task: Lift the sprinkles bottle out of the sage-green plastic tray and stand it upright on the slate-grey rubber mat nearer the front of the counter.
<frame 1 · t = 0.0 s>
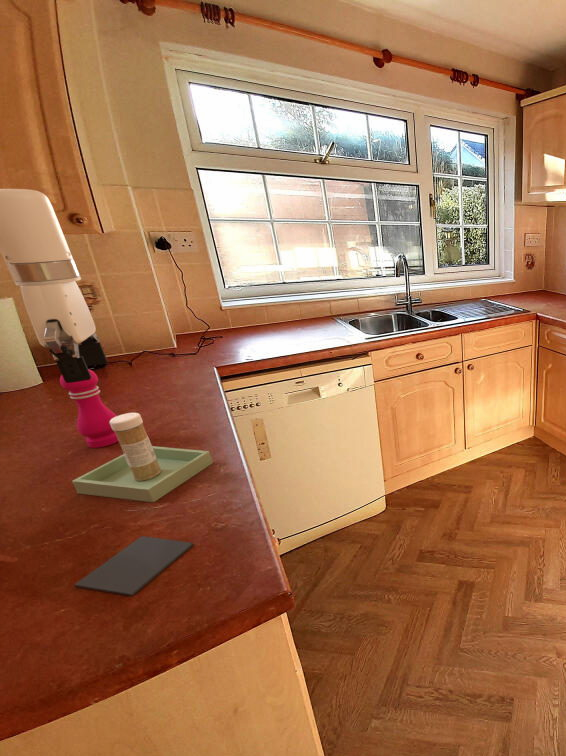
hand: (88, 372, 74), 24 cm above the counter, tool pointing down, fingers open, 9 cm apart
tray: (149, 477, 86), on the counter
mat: (137, 564, 65), on the counter
pepper mill: (106, 442, 101), on the counter
sprinkles bottle: (148, 476, 86), resting on tray
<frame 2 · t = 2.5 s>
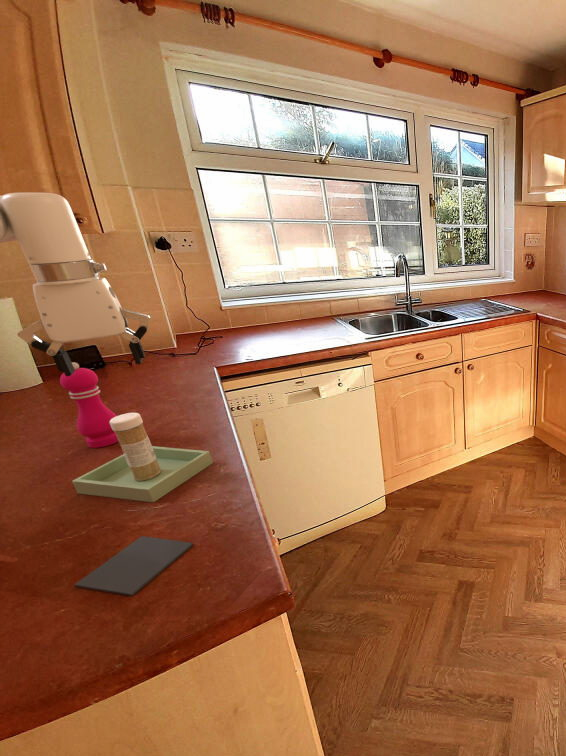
hand: (106, 368, 78), 24 cm above the counter, tool pointing down, fingers open, 9 cm apart
nothing on the counter moved.
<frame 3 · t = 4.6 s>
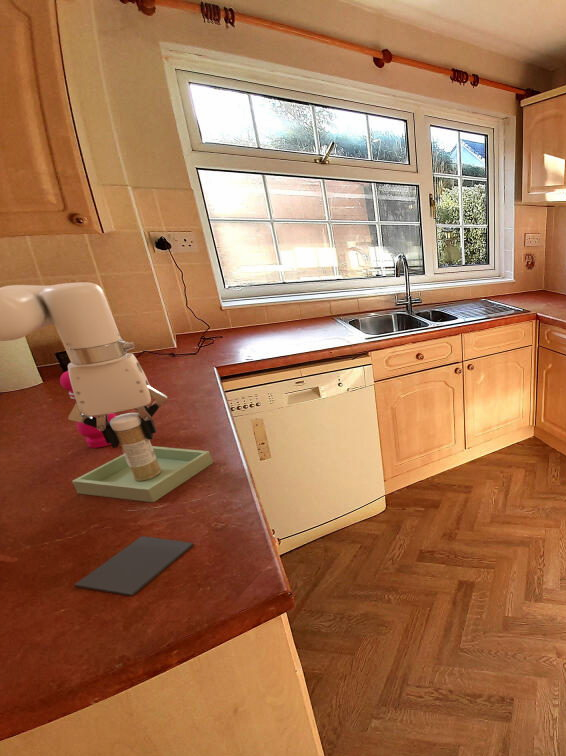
hand: (133, 439, 83), 9 cm above the counter, tool pointing down, fingers closed on sprinkles bottle, 4 cm apart
sprinkles bottle: (148, 476, 86), resting on tray, touching gripper
everything else where it was.
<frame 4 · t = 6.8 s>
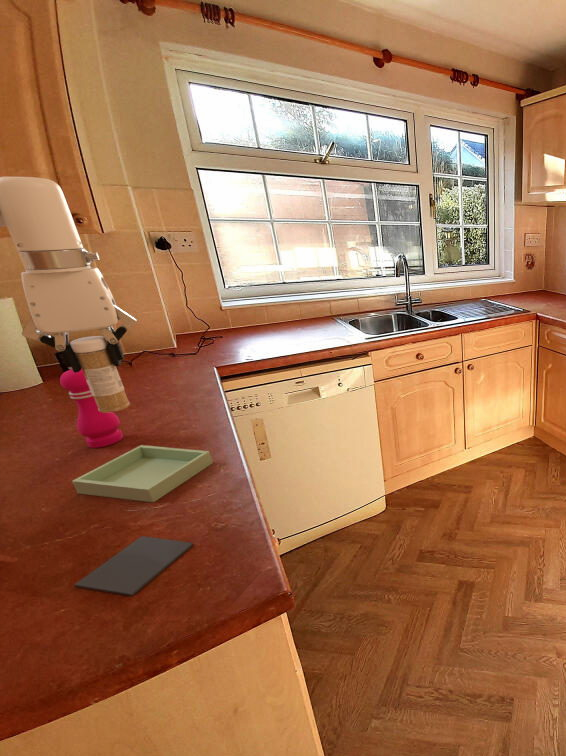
hand: (98, 366, 75), 25 cm above the counter, tool pointing down, fingers closed on sprinkles bottle, 4 cm apart
sprinkles bottle: (115, 409, 78), point 16 cm above the counter, touching gripper
everything else where it was.
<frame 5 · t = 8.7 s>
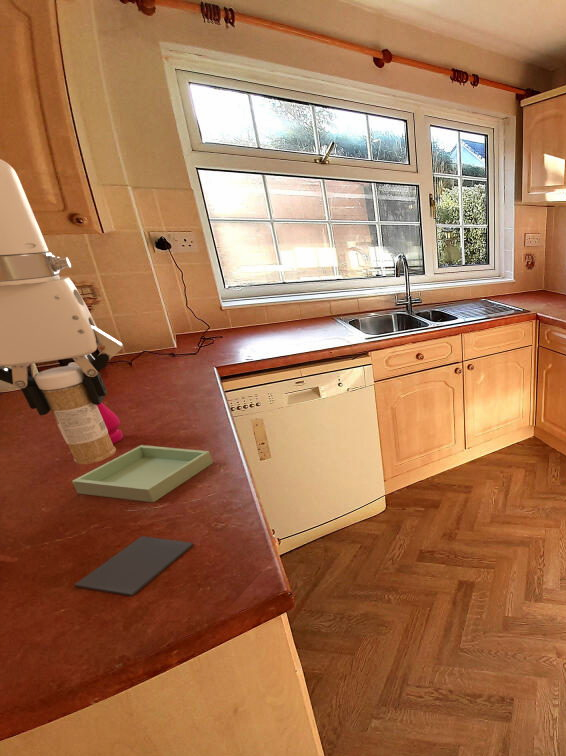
hand: (73, 405, 58), 26 cm above the counter, tool pointing down, fingers closed on sprinkles bottle, 4 cm apart
sprinkles bottle: (97, 458, 61), point 17 cm above the counter, touching gripper
everything else where it was.
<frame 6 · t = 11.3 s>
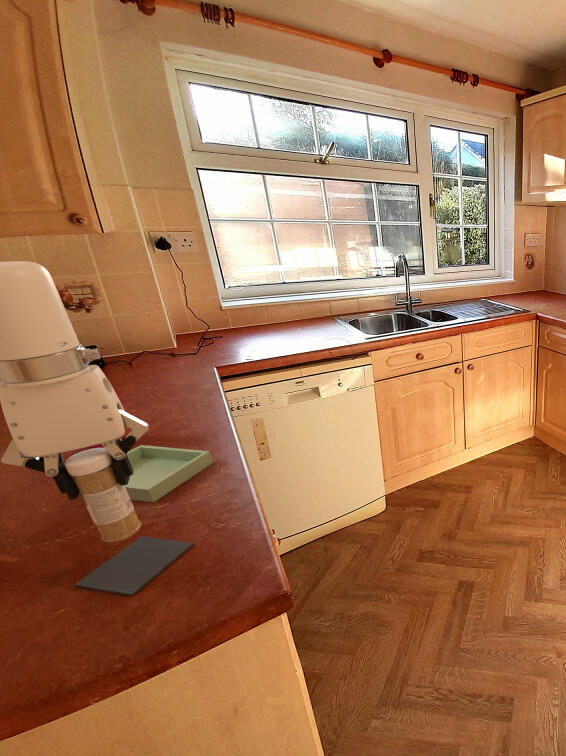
hand: (101, 486, 59), 14 cm above the counter, tool pointing down, fingers closed on sprinkles bottle, 4 cm apart
sprinkles bottle: (123, 534, 62), point 6 cm above the counter, touching gripper
everything else where it was.
when the fingers open (9 cm above the counter, at t = 13.0 s): sprinkles bottle stays where it is, resting on mat.
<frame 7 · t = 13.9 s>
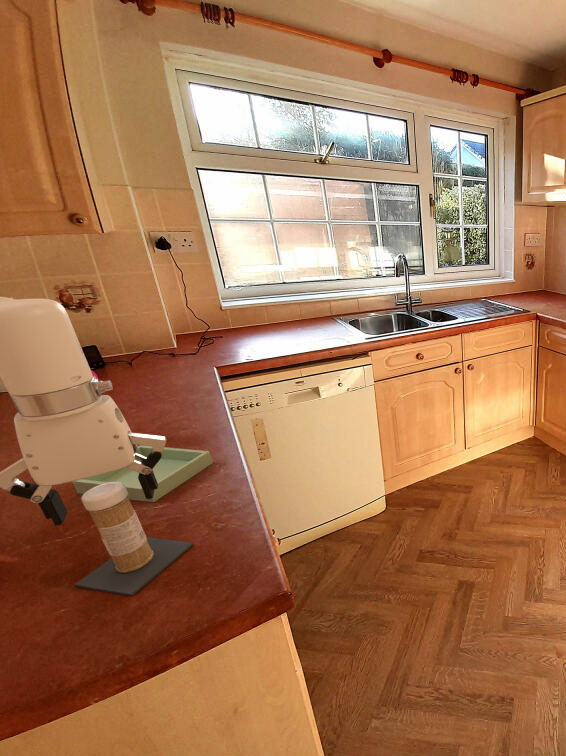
hand: (108, 506, 61), 11 cm above the counter, tool pointing down, fingers open, 9 cm apart
sprinkles bottle: (136, 563, 65), resting on mat
everything else where it was.
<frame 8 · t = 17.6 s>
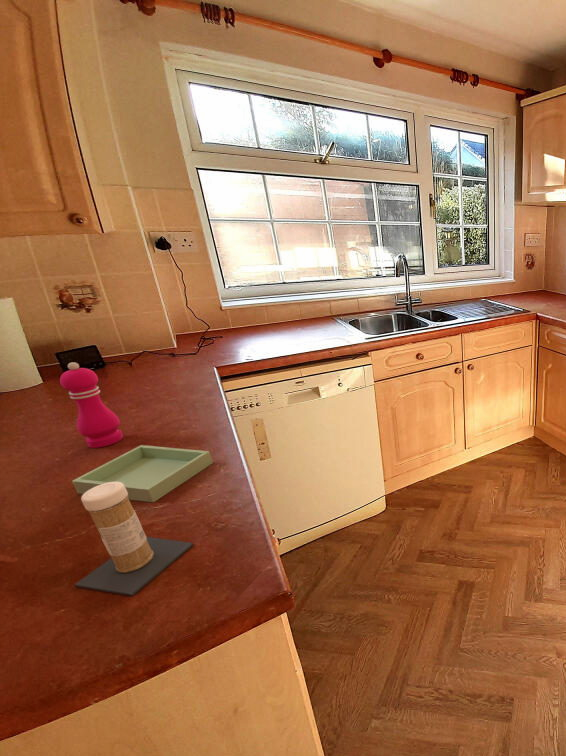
nothing on the counter moved.
at the end: sprinkles bottle 0.1 cm off-centre on the mat, point 0.2 cm above the mat's base; sprinkles bottle tilted 0°; sprinkles bottle touching mat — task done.
